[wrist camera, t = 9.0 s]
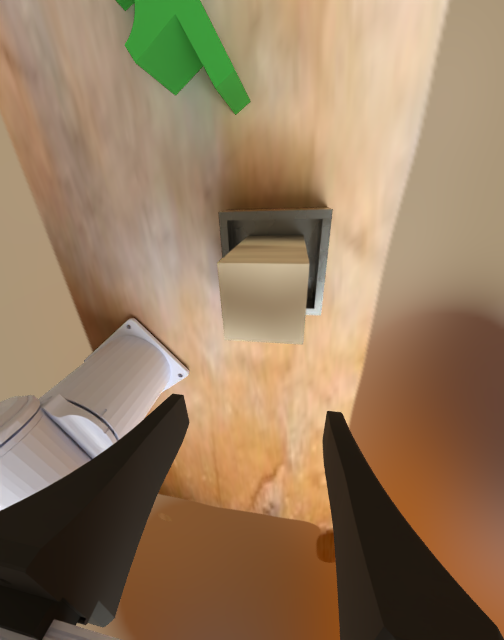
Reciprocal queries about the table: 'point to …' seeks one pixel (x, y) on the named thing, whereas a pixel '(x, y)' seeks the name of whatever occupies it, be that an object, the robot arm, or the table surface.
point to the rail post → (265, 289)
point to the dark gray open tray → (285, 223)
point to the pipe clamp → (181, 47)
